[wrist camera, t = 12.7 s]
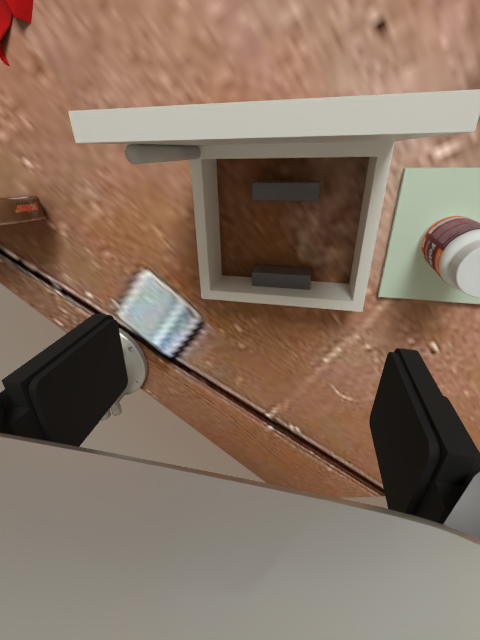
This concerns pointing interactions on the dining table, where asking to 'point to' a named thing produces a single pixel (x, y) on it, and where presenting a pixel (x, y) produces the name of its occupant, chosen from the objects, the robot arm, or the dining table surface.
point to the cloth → (4, 3)
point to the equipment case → (281, 142)
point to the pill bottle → (454, 252)
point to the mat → (412, 221)
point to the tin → (20, 210)
